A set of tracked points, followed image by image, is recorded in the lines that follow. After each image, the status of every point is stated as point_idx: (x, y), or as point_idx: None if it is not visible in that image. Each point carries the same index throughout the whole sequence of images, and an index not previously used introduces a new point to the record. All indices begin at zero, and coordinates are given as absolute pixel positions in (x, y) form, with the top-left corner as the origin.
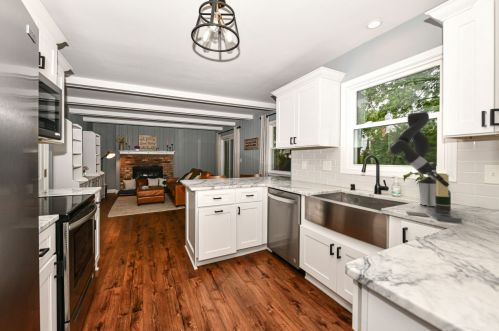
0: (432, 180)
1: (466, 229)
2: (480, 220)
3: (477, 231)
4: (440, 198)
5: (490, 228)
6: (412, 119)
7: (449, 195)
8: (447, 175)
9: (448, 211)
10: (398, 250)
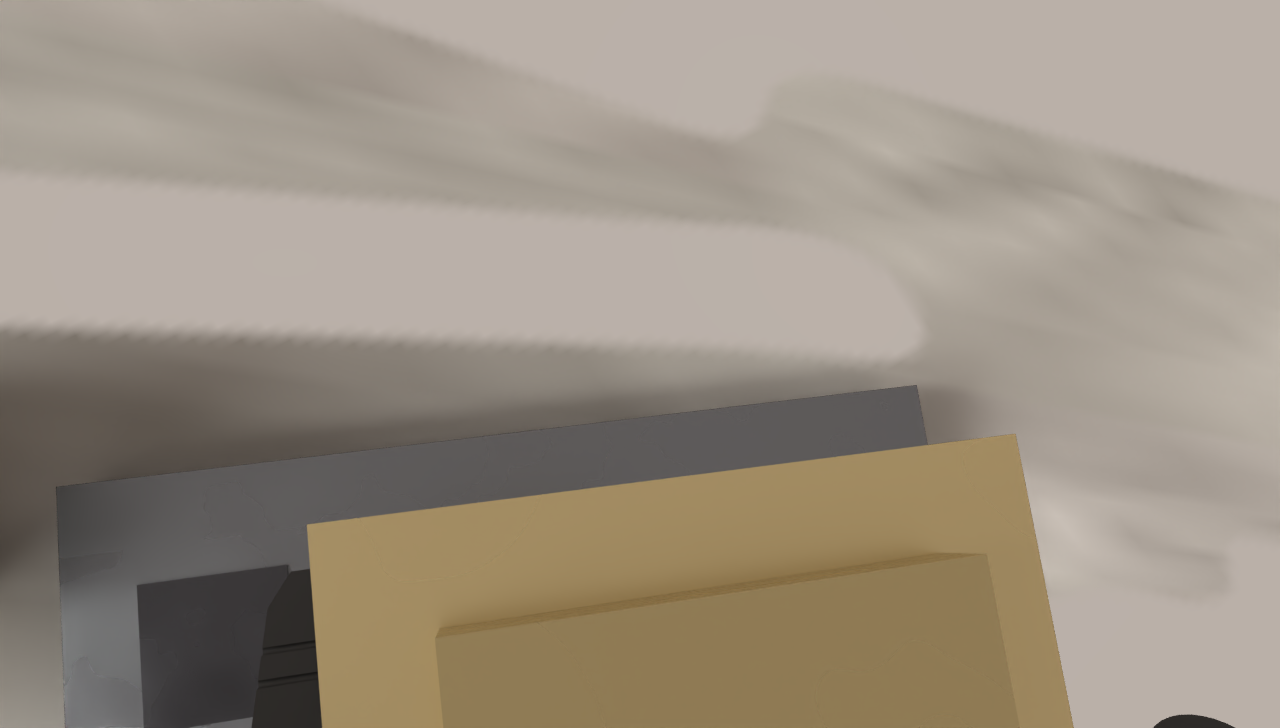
0: None
1: (1258, 417)
2: (484, 113)
3: (1276, 327)
4: None
5: (1000, 152)
6: None
7: None
8: (992, 509)
9: (284, 473)
10: None
